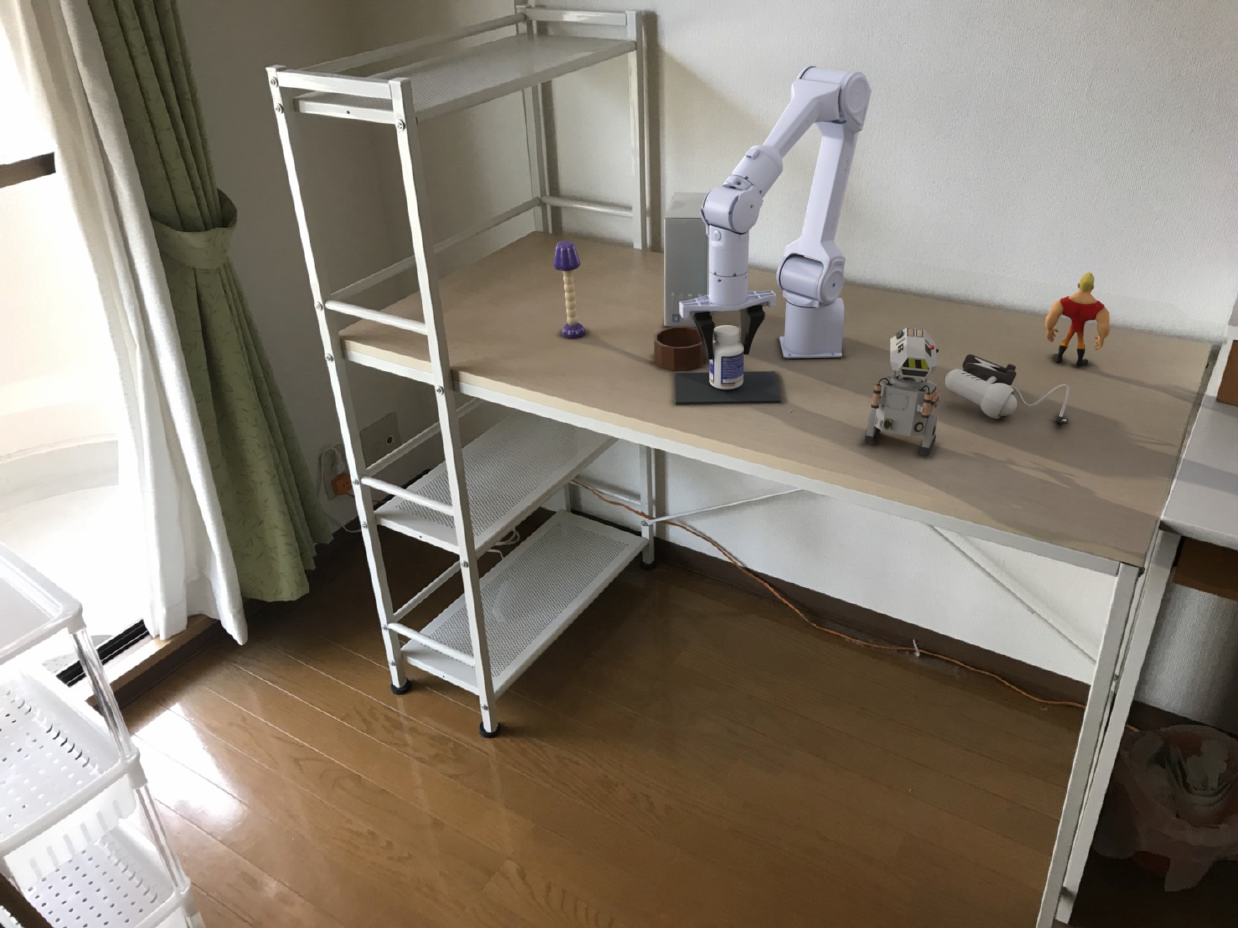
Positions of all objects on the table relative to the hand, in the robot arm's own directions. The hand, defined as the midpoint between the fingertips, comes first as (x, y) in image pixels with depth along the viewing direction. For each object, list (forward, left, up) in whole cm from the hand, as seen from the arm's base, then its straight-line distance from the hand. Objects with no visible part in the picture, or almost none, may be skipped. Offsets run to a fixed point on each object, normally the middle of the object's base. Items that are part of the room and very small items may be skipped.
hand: (726, 354), depth 152 cm
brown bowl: (+7, -11, -6) cm, 14 cm away
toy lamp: (+26, -22, -6) cm, 35 cm away
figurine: (-24, +16, -6) cm, 29 cm away
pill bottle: (0, 0, -5) cm, 5 cm away
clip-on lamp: (-41, +8, -6) cm, 42 cm away
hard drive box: (+5, -31, -6) cm, 32 cm away
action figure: (-55, -7, -6) cm, 56 cm away
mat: (0, 0, -6) cm, 6 cm away
